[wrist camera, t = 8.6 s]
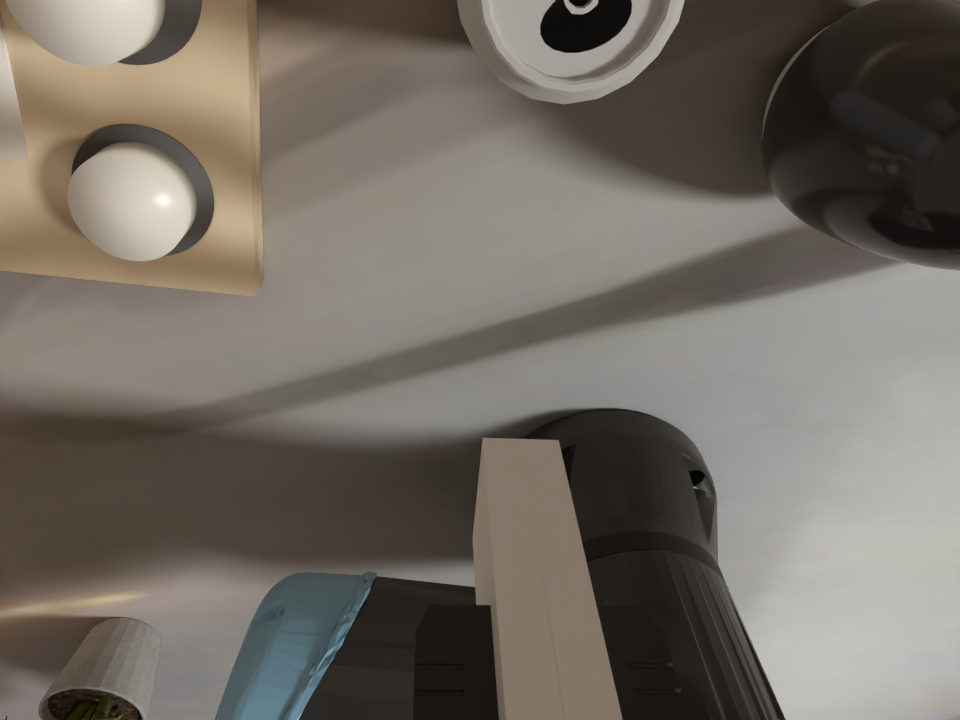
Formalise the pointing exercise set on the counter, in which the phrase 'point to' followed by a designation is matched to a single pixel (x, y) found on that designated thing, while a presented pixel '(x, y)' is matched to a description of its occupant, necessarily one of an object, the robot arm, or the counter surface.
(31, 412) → the counter surface
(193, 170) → the button board
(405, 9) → the counter surface
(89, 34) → the button
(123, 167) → the button
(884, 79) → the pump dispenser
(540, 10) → the can
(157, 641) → the house plant
